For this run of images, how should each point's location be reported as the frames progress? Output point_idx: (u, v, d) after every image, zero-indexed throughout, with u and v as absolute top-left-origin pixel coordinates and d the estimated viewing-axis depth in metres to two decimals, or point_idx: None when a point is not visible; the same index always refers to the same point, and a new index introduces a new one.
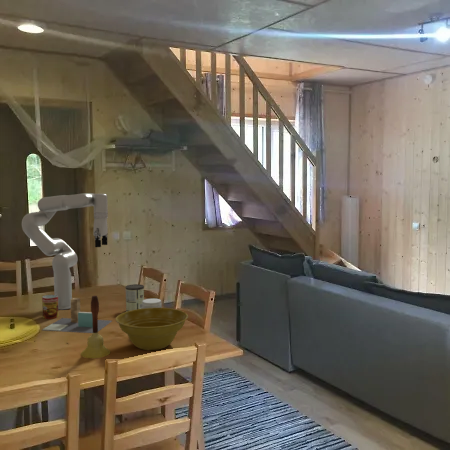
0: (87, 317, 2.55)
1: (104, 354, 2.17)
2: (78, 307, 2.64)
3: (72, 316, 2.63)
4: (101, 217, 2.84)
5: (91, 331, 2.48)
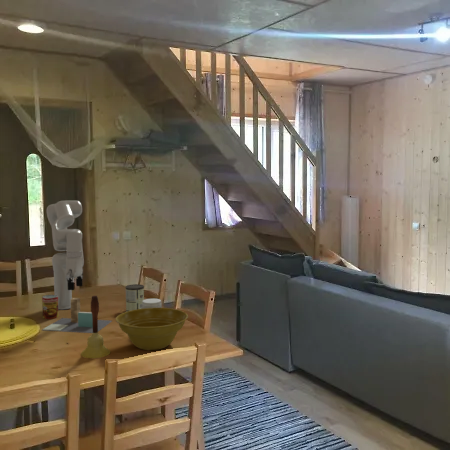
0: (87, 317, 2.55)
1: (104, 354, 2.17)
2: (78, 307, 2.64)
3: (72, 316, 2.63)
4: (74, 257, 2.58)
5: (91, 331, 2.48)
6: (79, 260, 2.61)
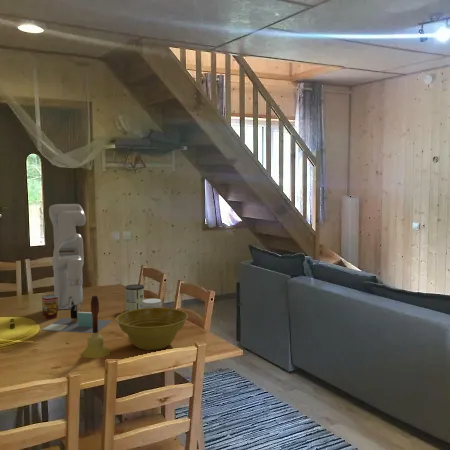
0: (87, 317, 2.55)
1: (104, 354, 2.17)
2: (78, 307, 2.64)
3: None
4: (75, 284, 2.59)
5: (91, 331, 2.48)
6: (80, 287, 2.63)
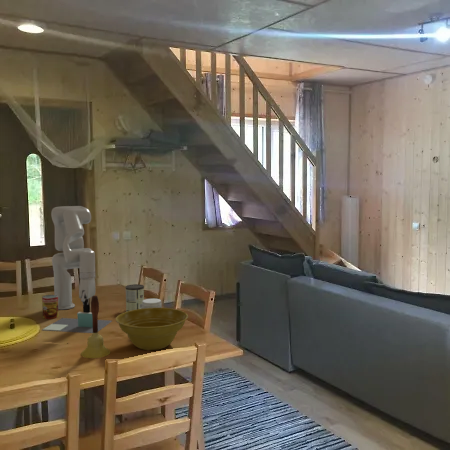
0: (86, 317, 2.54)
1: (104, 354, 2.17)
2: None
3: None
4: (88, 277, 2.53)
5: (91, 331, 2.48)
6: (92, 280, 2.56)
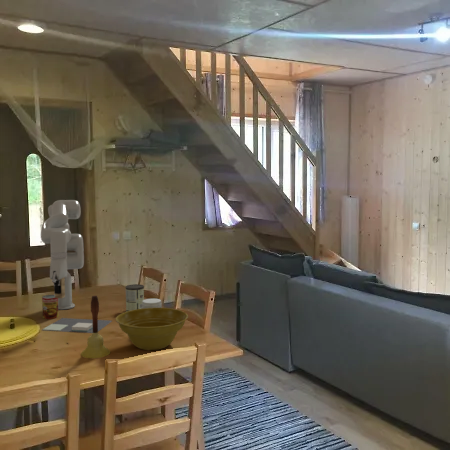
0: None
1: (104, 354, 2.17)
2: (63, 282, 2.51)
3: None
4: (59, 258, 2.46)
5: (91, 331, 2.48)
6: (64, 261, 2.50)
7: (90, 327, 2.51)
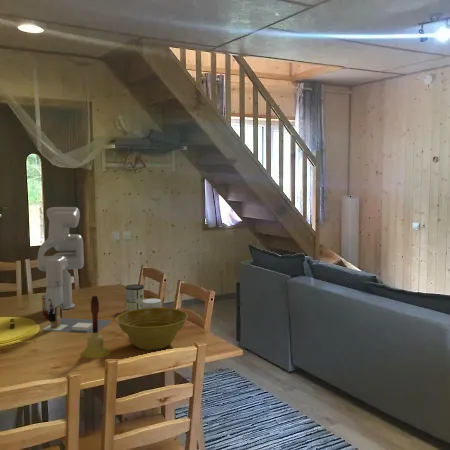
0: None
1: (104, 354, 2.17)
2: (58, 312, 2.53)
3: None
4: (54, 286, 2.48)
5: (91, 331, 2.48)
6: (59, 289, 2.52)
7: (90, 327, 2.51)
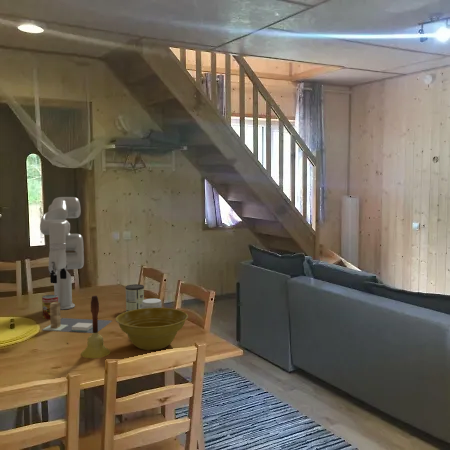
0: None
1: (104, 354, 2.17)
2: (58, 312, 2.53)
3: (52, 321, 2.52)
4: (57, 249, 2.49)
5: (91, 331, 2.48)
6: (63, 252, 2.52)
7: (90, 327, 2.51)
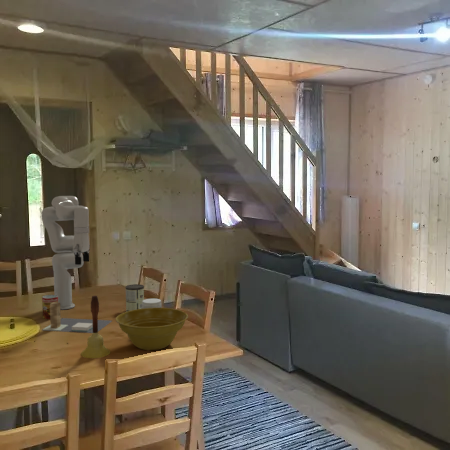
0: None
1: (104, 354, 2.17)
2: (58, 312, 2.53)
3: (52, 321, 2.52)
4: (81, 232, 2.63)
5: (91, 331, 2.48)
6: (86, 236, 2.67)
7: (90, 327, 2.51)
